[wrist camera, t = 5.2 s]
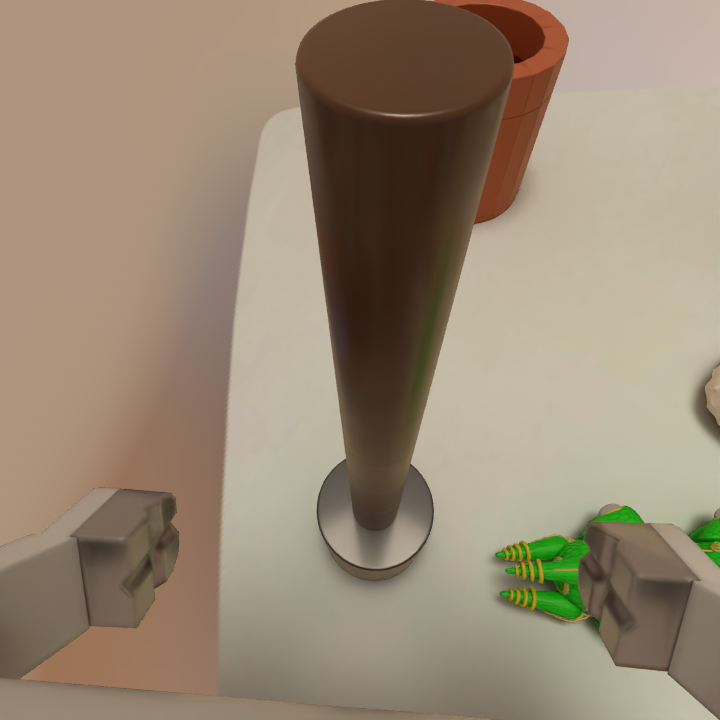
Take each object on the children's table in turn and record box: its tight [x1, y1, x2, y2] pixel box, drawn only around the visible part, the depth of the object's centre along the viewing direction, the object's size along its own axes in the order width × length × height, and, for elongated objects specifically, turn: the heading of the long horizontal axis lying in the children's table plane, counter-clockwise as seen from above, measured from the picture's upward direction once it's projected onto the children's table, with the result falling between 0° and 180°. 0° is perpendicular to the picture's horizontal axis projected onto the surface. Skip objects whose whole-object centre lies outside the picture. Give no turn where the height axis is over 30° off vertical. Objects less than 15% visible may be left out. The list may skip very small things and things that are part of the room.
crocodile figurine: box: [496, 504, 720, 627], centre depth 22 cm, size 7×18×4 cm, turn 89°
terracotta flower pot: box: [433, 0, 569, 223], centre depth 34 cm, size 10×10×11 cm
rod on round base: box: [295, 0, 514, 581], centre depth 15 cm, size 5×5×24 cm
